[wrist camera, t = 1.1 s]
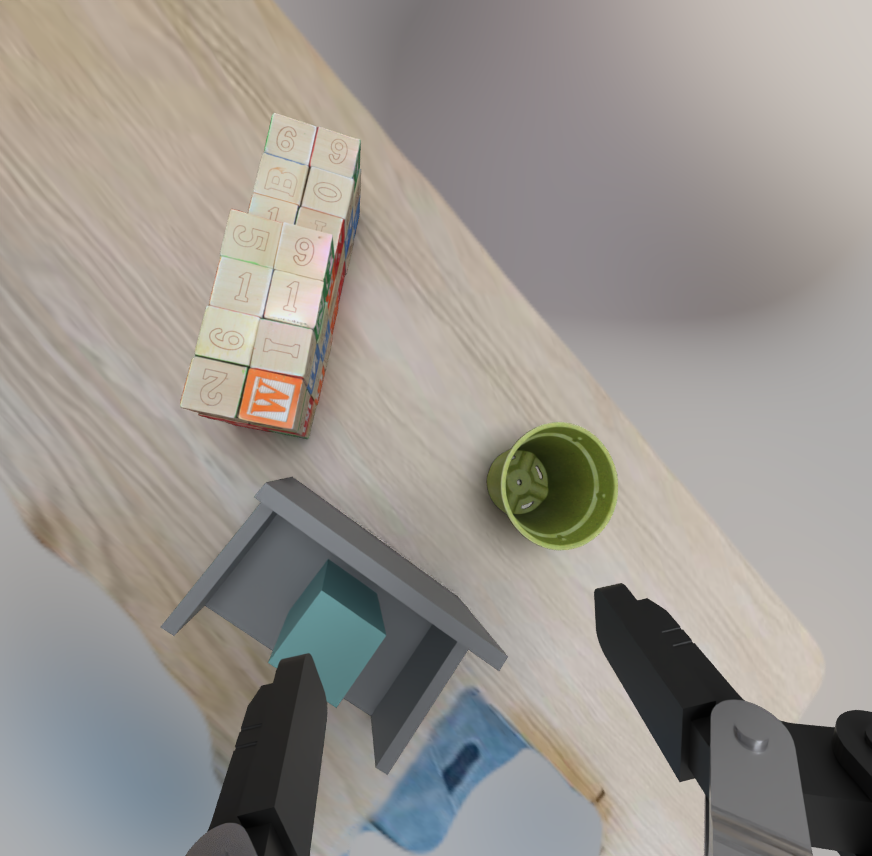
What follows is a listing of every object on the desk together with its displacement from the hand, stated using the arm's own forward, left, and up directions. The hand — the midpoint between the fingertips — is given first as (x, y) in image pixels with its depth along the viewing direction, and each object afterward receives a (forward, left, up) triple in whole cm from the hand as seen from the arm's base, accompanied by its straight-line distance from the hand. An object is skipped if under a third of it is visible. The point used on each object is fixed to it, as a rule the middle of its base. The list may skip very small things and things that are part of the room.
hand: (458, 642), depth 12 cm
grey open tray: (-2, -7, -26) cm, 27 cm away
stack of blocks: (-12, +15, -26) cm, 33 cm away
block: (-2, -7, -25) cm, 26 cm away
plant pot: (+11, +7, -26) cm, 29 cm away
